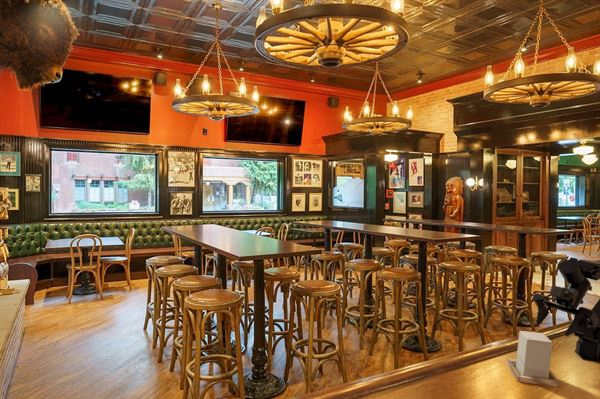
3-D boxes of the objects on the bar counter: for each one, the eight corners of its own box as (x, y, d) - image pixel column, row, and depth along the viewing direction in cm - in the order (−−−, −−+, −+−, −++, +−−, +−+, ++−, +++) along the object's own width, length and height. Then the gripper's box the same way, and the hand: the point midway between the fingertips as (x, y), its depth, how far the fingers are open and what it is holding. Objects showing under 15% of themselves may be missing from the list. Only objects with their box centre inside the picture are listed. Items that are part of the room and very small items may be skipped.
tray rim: (544, 368, 134) (544, 363, 134) (559, 387, 123) (560, 382, 123) (506, 363, 136) (506, 358, 136) (517, 381, 125) (517, 376, 125)
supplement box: (548, 382, 125) (553, 342, 124) (522, 378, 127) (526, 339, 125) (539, 370, 132) (544, 332, 131) (514, 367, 134) (518, 329, 133)
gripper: (537, 269, 141) (514, 305, 137) (597, 285, 125) (572, 326, 121) (549, 289, 146) (527, 324, 141) (609, 306, 129) (585, 347, 125)
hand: (551, 329), depth 132 cm, fingers open, 9 cm apart
